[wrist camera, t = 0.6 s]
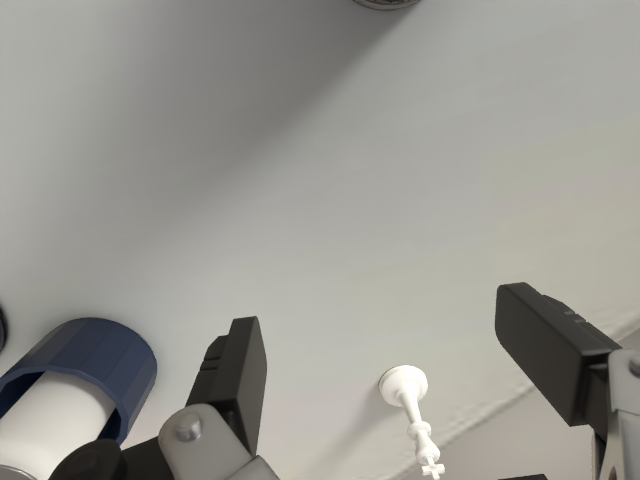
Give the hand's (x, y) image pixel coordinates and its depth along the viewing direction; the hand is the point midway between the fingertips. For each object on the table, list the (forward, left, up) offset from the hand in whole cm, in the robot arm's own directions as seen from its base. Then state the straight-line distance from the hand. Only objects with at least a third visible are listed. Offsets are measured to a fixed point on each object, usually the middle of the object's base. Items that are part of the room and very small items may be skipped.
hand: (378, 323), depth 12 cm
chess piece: (+21, +5, -19) cm, 29 cm away
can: (+14, -24, -18) cm, 33 cm away
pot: (+14, -24, -18) cm, 33 cm away
